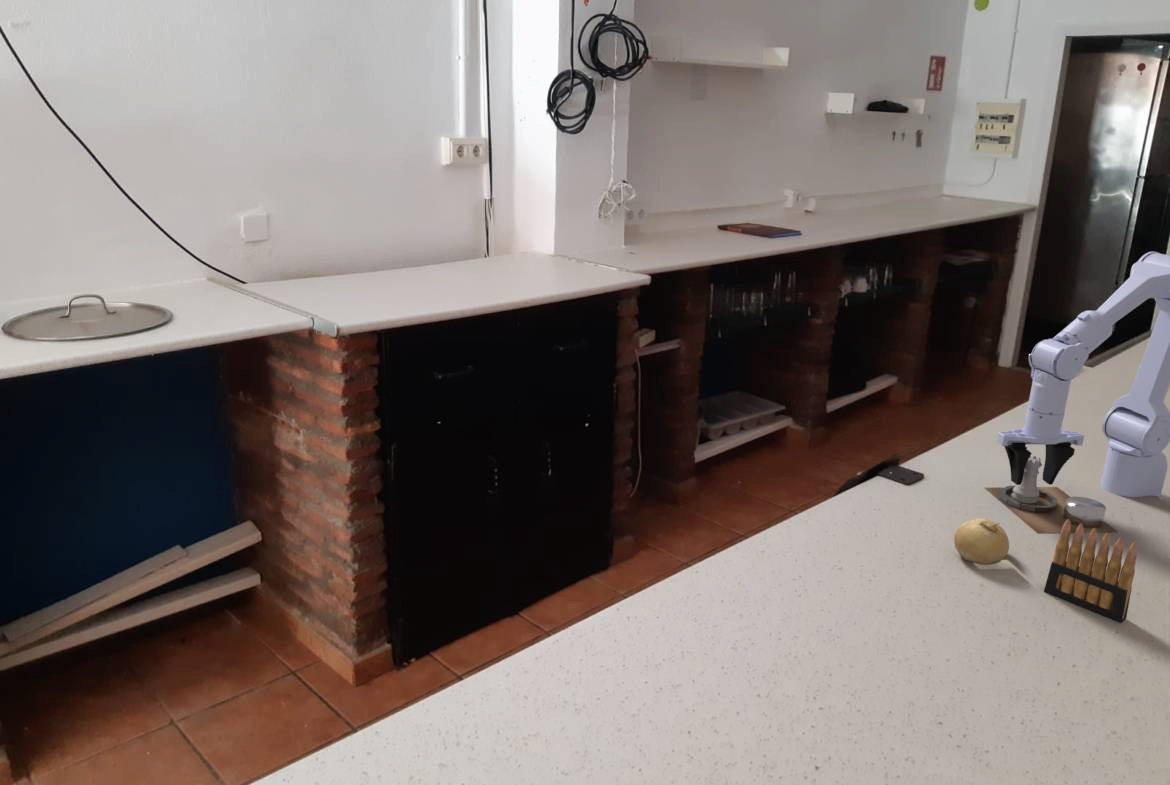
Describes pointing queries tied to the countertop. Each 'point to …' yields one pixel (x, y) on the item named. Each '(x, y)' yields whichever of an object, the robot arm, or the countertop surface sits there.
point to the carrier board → (1050, 520)
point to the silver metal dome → (1084, 512)
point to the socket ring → (1028, 507)
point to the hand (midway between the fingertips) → (1031, 482)
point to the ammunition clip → (1092, 574)
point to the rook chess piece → (1028, 483)
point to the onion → (981, 541)
